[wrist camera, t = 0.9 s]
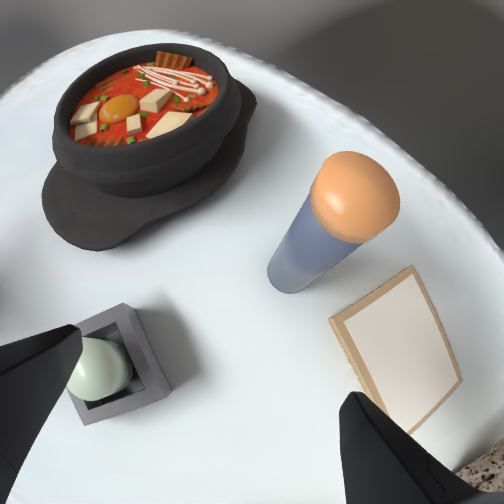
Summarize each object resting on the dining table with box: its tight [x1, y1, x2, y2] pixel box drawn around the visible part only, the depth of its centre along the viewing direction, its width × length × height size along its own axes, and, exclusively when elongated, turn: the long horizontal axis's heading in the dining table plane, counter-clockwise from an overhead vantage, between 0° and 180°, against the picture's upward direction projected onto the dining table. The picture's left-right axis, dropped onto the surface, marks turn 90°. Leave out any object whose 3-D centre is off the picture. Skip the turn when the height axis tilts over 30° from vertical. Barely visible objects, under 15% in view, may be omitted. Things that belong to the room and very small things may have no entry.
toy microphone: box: [267, 151, 400, 294], centre depth 17 cm, size 4×4×13 cm
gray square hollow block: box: [66, 303, 172, 426], centre depth 17 cm, size 7×7×3 cm
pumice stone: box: [456, 438, 504, 492], centre depth 13 cm, size 14×12×8 cm
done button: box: [66, 337, 133, 401], centre depth 15 cm, size 4×4×4 cm
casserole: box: [42, 43, 257, 252], centre depth 22 cm, size 25×19×8 cm
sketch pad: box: [328, 265, 462, 435], centre depth 21 cm, size 14×10×1 cm
